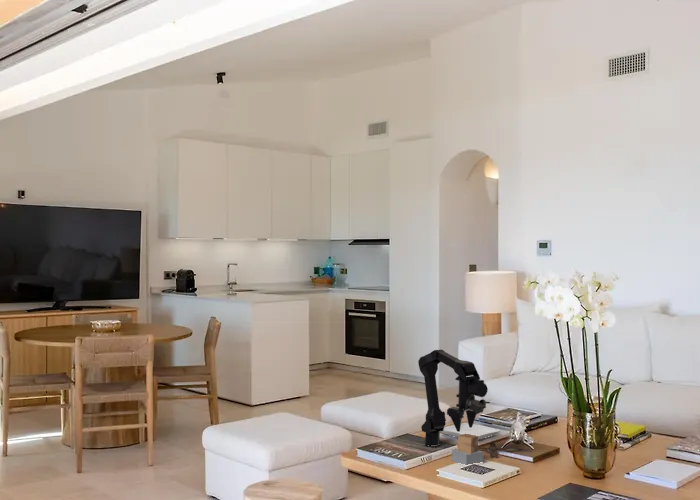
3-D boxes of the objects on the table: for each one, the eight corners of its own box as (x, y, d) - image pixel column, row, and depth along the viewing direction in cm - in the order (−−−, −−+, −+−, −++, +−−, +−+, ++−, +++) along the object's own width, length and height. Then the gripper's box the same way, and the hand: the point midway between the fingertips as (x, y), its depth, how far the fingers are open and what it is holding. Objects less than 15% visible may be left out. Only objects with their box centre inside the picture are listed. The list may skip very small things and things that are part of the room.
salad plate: (465, 428, 348) (465, 421, 348) (501, 436, 333) (501, 429, 333) (437, 435, 334) (437, 428, 334) (474, 444, 318) (474, 437, 318)
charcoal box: (468, 458, 297) (468, 446, 297) (483, 464, 289) (483, 451, 289) (451, 461, 292) (451, 449, 292) (466, 467, 285) (466, 454, 285)
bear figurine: (472, 450, 298) (472, 438, 313) (472, 460, 299) (471, 447, 313) (516, 452, 296) (513, 440, 310) (515, 462, 296) (513, 449, 310)
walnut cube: (465, 447, 295) (465, 433, 295) (478, 450, 291) (478, 435, 291) (457, 450, 290) (458, 436, 290) (470, 453, 287) (471, 438, 287)
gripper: (469, 399, 285) (468, 437, 286) (493, 392, 299) (492, 429, 299) (446, 394, 293) (445, 432, 293) (471, 388, 307) (470, 424, 307)
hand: (464, 429), depth 298 cm, fingers open, 9 cm apart
